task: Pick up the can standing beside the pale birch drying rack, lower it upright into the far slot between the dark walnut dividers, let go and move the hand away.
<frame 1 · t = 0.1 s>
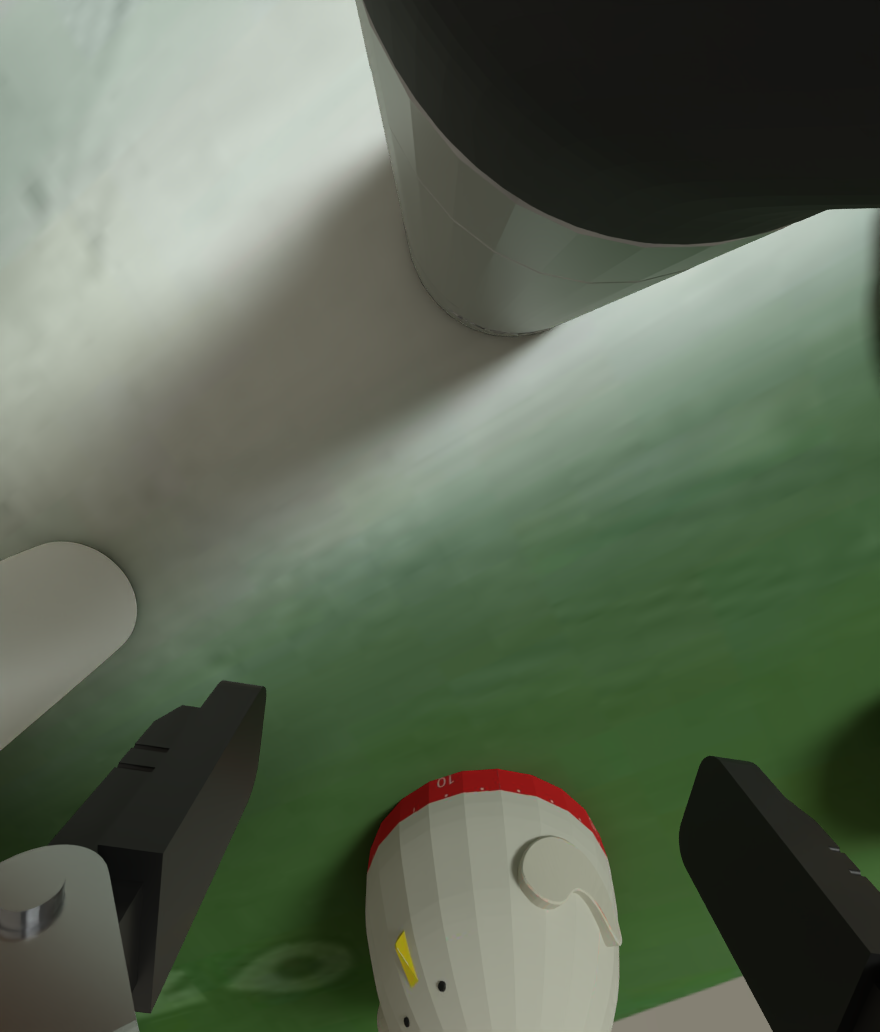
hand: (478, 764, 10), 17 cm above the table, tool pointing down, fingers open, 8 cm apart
can: (80, 597, 27), on the table
kitchen timer: (485, 864, 32), on the table
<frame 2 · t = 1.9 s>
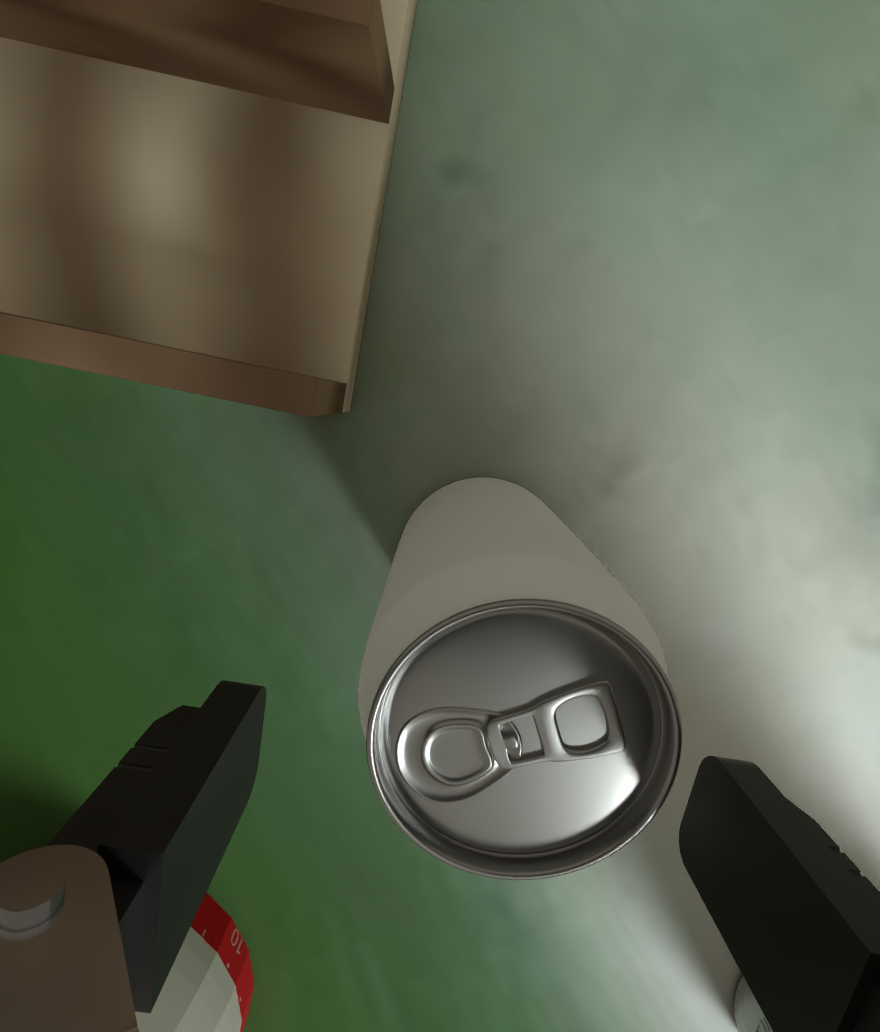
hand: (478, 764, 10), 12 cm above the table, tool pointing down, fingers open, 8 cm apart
can: (480, 554, 21), on the table
kitchen timer: (113, 966, 26), on the table
drying rack: (128, 70, 18), on the table
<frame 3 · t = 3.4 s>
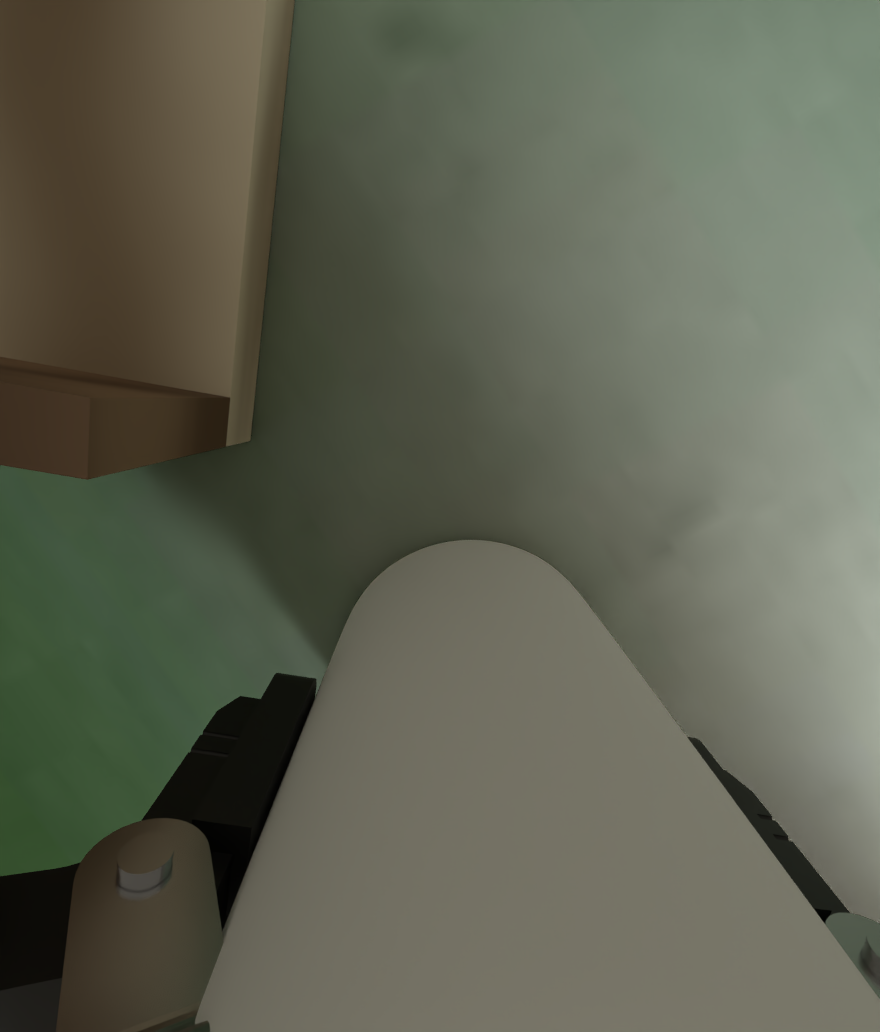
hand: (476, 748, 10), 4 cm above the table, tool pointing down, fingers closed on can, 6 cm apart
can: (467, 652, 14), on the table, touching gripper
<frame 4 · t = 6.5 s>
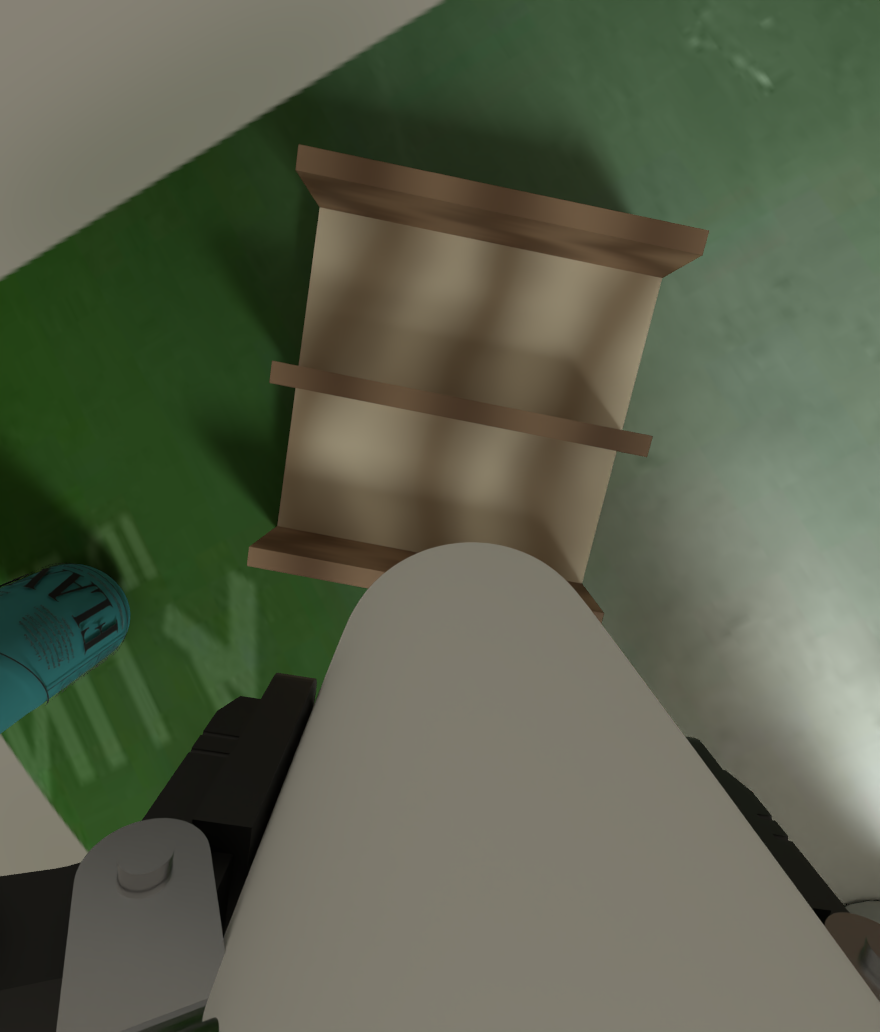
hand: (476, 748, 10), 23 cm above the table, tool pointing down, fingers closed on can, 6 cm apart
beverage bottle: (97, 600, 34), on the table
can: (468, 655, 14), point 19 cm above the table, touching gripper
drying rack: (459, 408, 31), on the table
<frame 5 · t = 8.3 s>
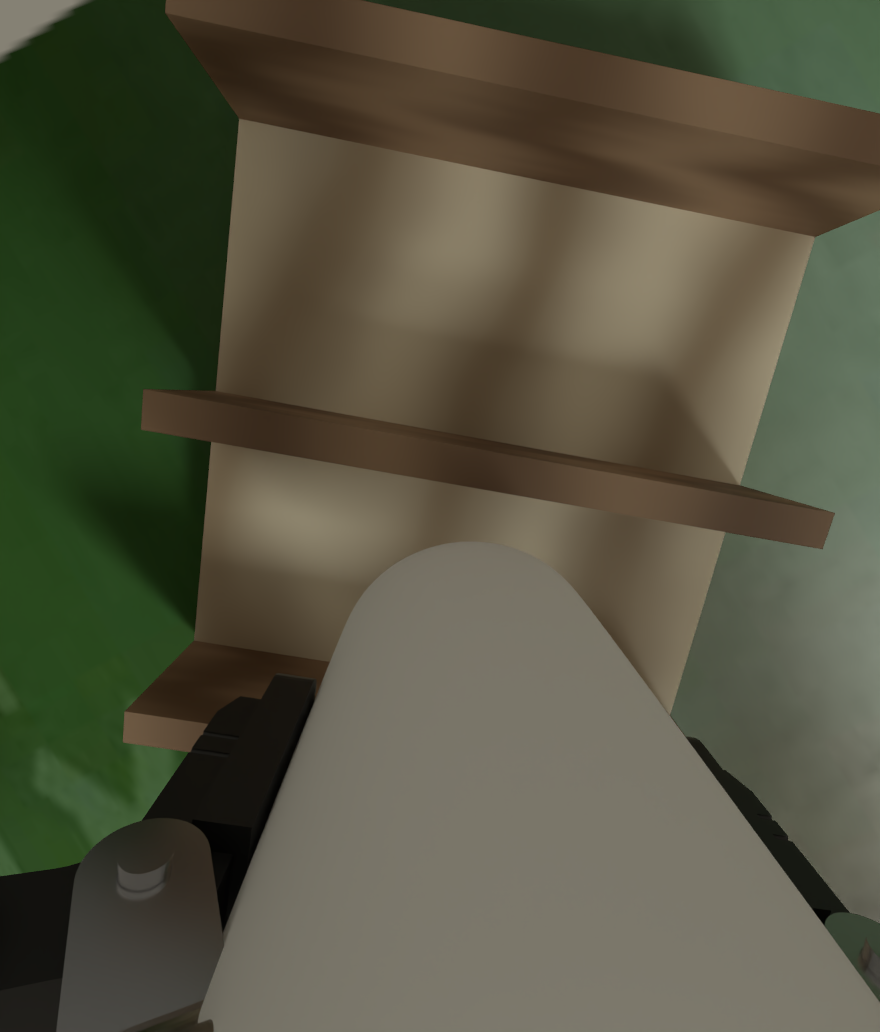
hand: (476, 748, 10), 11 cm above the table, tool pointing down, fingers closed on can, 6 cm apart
can: (467, 654, 14), point 7 cm above the table, touching gripper
drying rack: (477, 449, 20), on the table
when the fingers open (7 cm above the table, at t = 9.7 s): can drops 1 cm, resting on drying rack.
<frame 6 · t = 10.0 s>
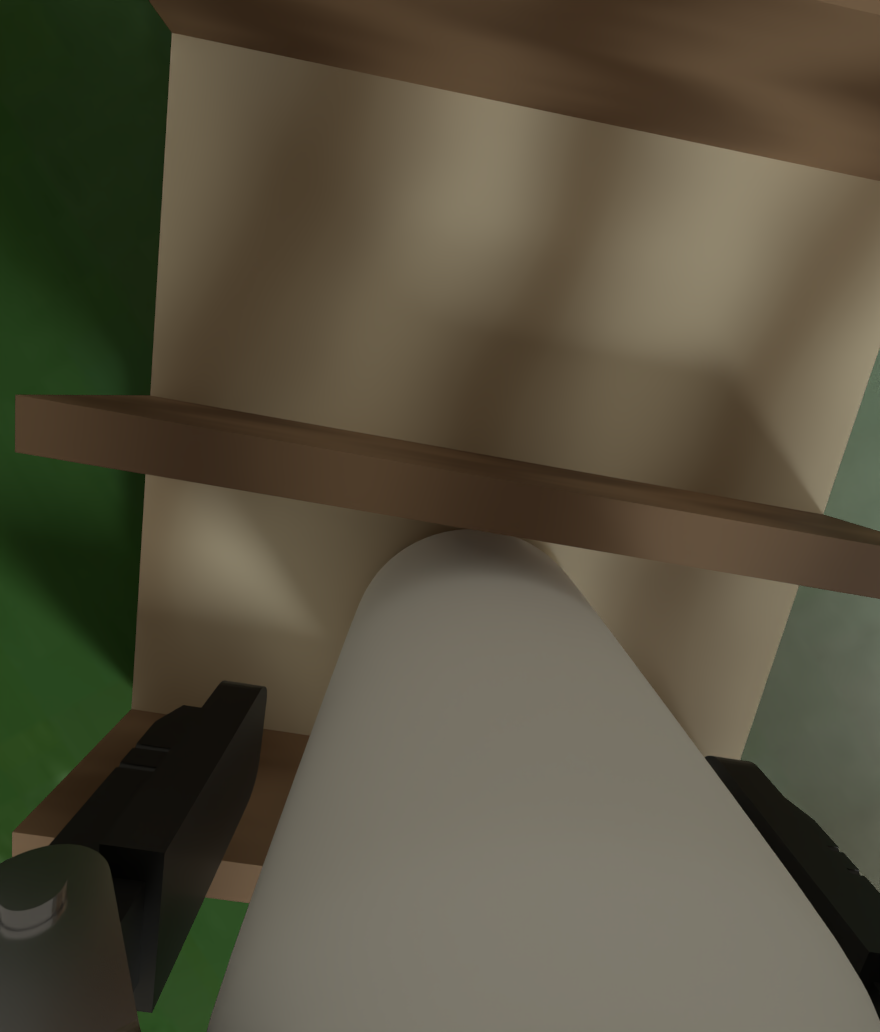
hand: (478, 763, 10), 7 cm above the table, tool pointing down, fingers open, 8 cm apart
can: (468, 632, 15), point 1 cm above the table, touching drying rack
drying rack: (487, 468, 16), on the table
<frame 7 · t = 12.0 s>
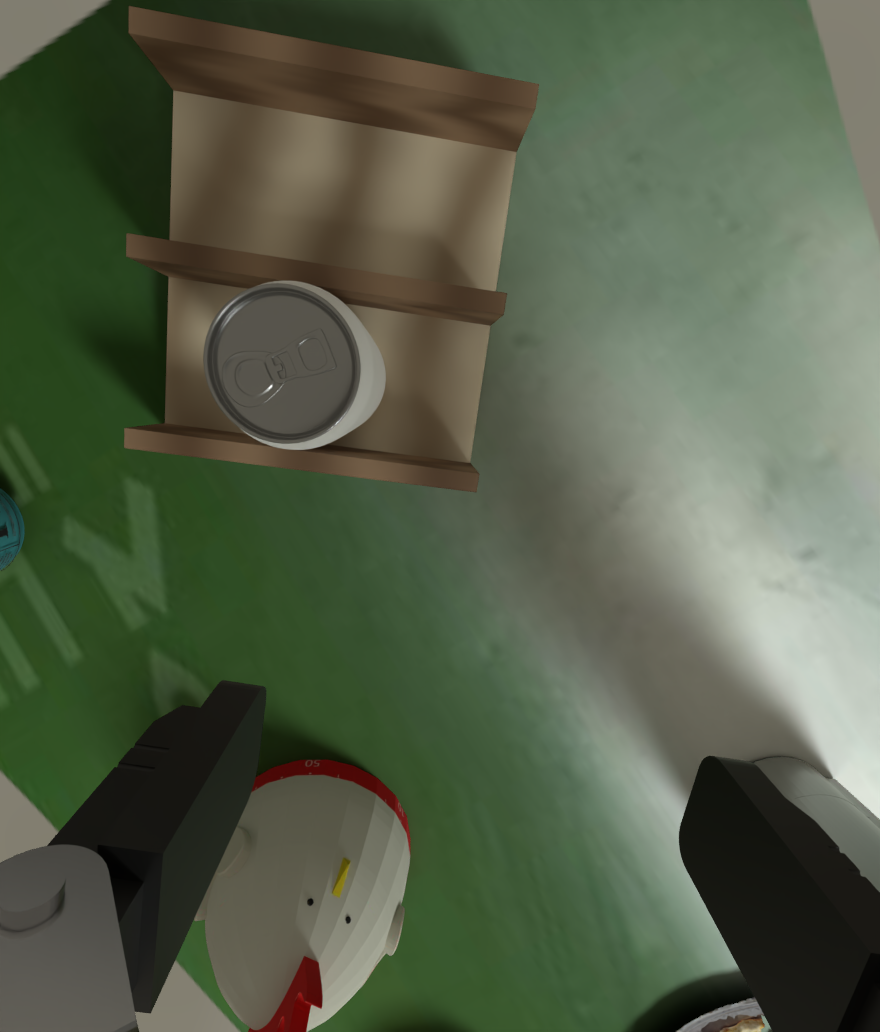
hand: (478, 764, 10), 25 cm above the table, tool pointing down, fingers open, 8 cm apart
can: (331, 376, 31), point 1 cm above the table, touching drying rack
kitchen timer: (317, 837, 40), on the table
drying rack: (337, 297, 32), on the table
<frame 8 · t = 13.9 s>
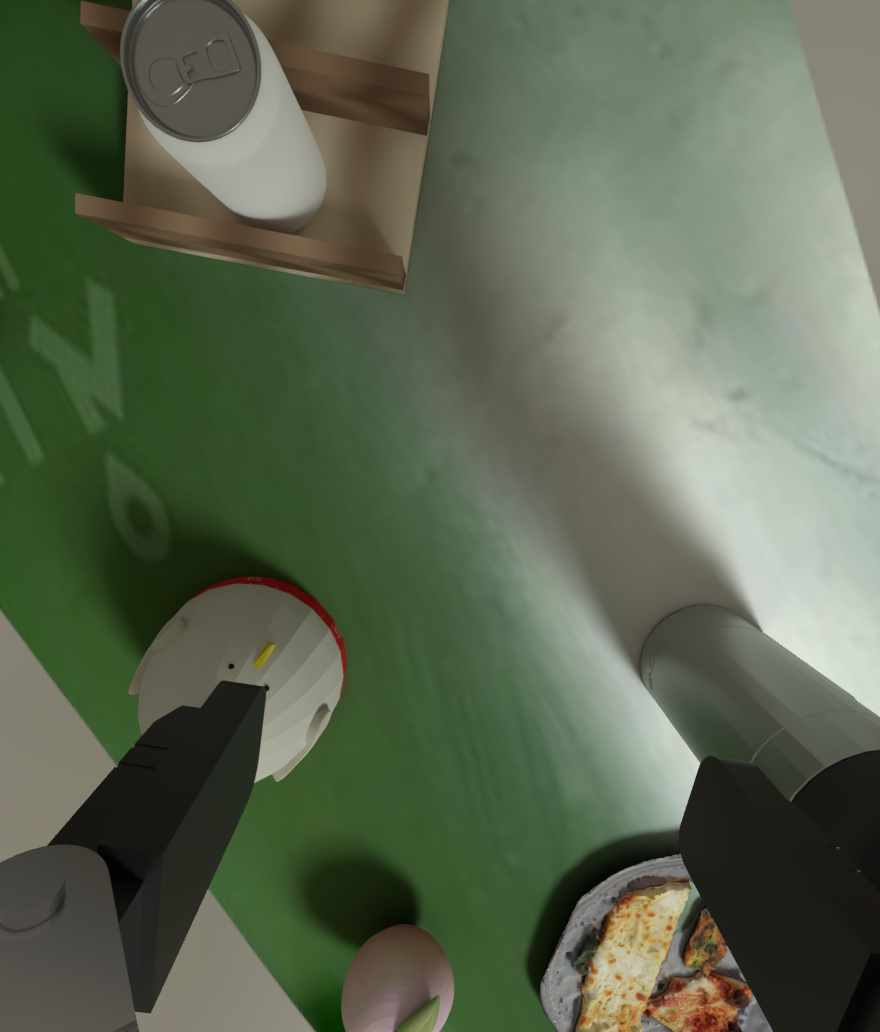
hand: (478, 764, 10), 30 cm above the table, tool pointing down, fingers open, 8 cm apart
food plate: (670, 952, 49), on the table
can: (277, 181, 33), point 1 cm above the table, touching drying rack
kitchen timer: (258, 659, 42), on the table
drying rack: (287, 109, 34), on the table
decorative fruit: (398, 929, 48), on the table
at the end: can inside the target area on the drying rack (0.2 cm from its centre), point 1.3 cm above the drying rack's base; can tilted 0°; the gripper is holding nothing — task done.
